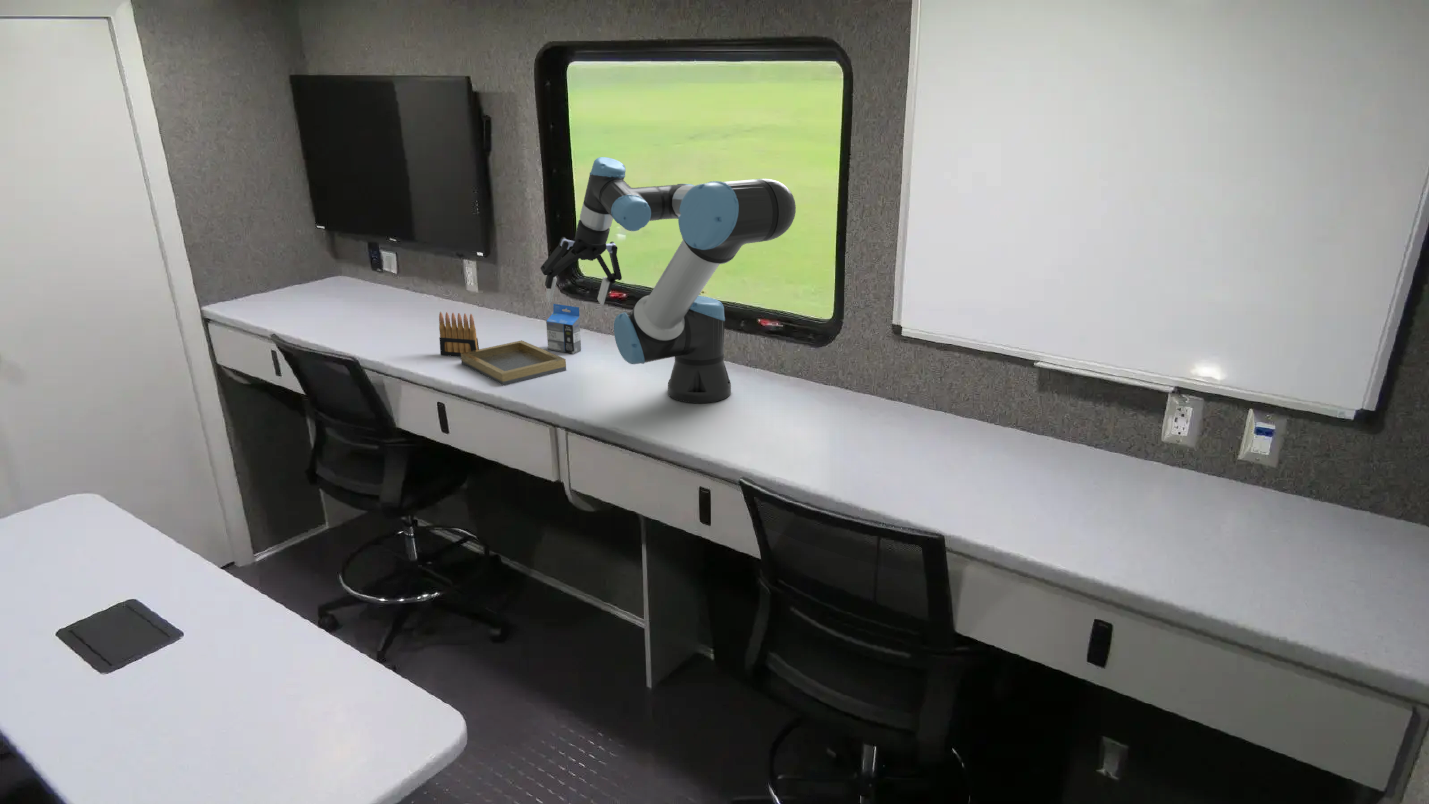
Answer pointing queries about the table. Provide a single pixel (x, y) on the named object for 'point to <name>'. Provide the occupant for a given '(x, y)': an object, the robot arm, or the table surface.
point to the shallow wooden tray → (513, 362)
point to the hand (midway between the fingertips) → (574, 300)
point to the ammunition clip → (457, 335)
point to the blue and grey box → (564, 329)
